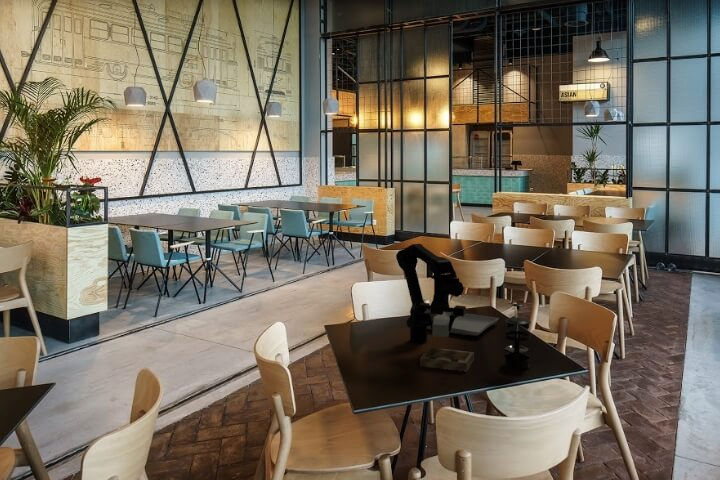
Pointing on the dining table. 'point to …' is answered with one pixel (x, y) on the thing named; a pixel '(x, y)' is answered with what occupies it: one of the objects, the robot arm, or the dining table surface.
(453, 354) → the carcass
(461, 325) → the square plate
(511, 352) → the french press
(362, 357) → the dining table surface
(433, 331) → the grey faceted block
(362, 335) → the dining table surface
